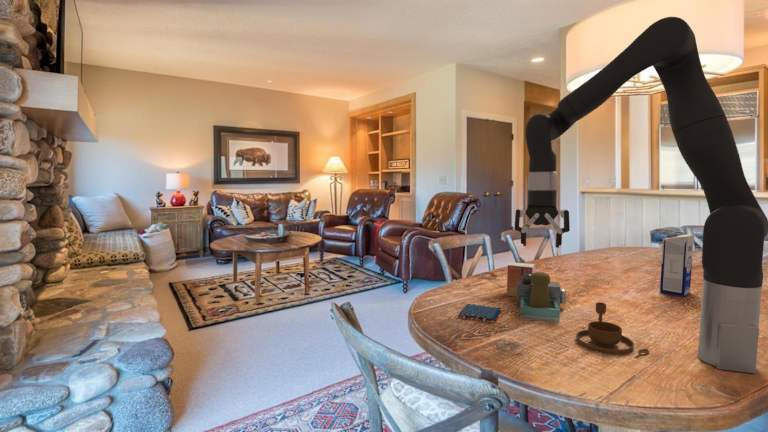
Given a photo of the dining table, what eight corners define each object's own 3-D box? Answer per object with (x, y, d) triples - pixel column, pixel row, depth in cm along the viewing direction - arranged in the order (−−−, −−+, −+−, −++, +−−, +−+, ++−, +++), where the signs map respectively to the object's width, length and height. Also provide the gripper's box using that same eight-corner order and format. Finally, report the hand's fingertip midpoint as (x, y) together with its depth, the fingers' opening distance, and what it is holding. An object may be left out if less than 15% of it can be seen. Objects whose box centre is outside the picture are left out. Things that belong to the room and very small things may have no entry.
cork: (552, 315, 109) (554, 276, 108) (529, 313, 111) (530, 275, 110) (548, 307, 115) (549, 270, 114) (526, 306, 117) (527, 269, 115)
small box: (506, 296, 131) (506, 264, 130) (509, 291, 136) (510, 261, 135) (531, 299, 127) (532, 267, 126) (534, 294, 132) (535, 263, 131)
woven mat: (465, 308, 121) (465, 302, 121) (501, 313, 116) (501, 306, 116) (456, 320, 111) (456, 312, 111) (495, 325, 107) (495, 318, 107)
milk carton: (684, 296, 128) (688, 235, 126) (659, 292, 133) (663, 233, 131) (690, 292, 133) (694, 233, 131) (666, 288, 138) (669, 231, 136)
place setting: (554, 340, 97) (554, 316, 97) (595, 321, 109) (596, 301, 108) (631, 367, 83) (633, 340, 83) (669, 343, 95) (671, 319, 94)
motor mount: (570, 323, 106) (571, 289, 105) (516, 318, 110) (517, 285, 110) (563, 304, 122) (564, 274, 121) (517, 300, 126) (517, 271, 125)
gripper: (514, 189, 108) (513, 247, 110) (572, 188, 104) (570, 250, 105) (515, 188, 116) (514, 243, 117) (568, 188, 111) (567, 245, 112)
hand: (540, 246), depth 111 cm, fingers open, 8 cm apart
